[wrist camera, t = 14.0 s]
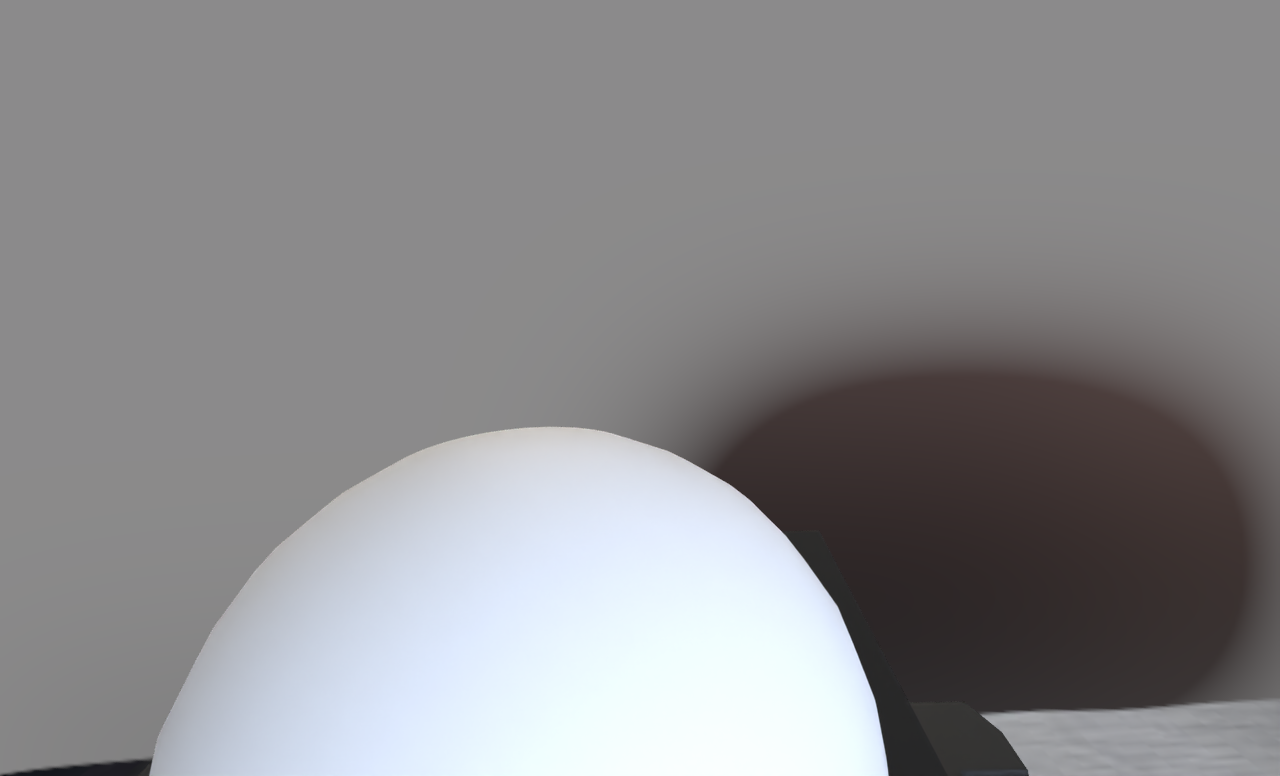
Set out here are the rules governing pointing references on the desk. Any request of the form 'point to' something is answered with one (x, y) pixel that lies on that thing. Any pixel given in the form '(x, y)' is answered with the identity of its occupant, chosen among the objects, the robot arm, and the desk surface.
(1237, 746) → the desk surface
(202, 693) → the lightbulb
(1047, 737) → the desk surface
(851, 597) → the robot arm
